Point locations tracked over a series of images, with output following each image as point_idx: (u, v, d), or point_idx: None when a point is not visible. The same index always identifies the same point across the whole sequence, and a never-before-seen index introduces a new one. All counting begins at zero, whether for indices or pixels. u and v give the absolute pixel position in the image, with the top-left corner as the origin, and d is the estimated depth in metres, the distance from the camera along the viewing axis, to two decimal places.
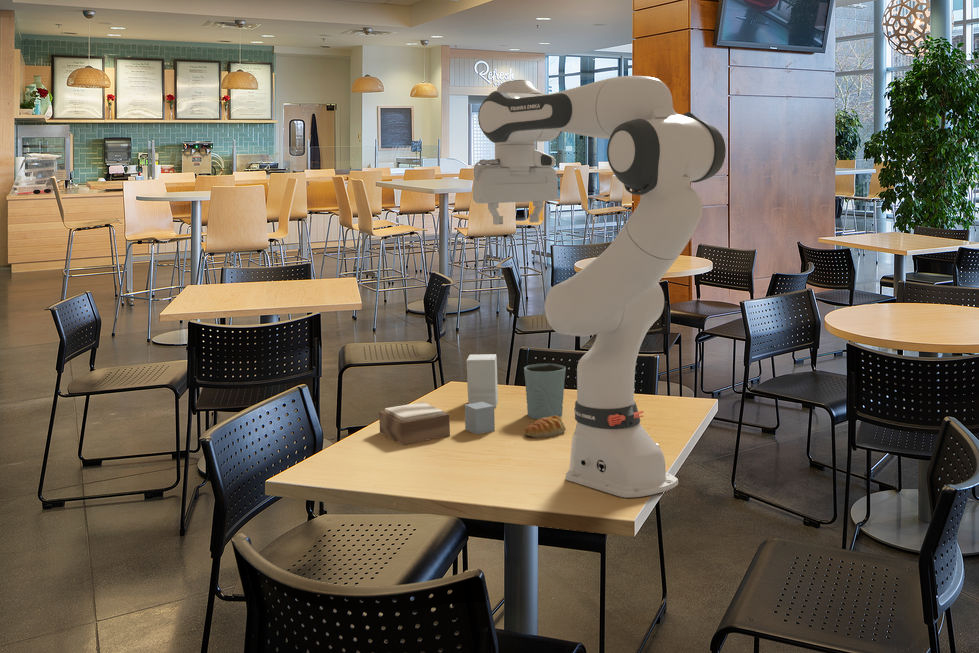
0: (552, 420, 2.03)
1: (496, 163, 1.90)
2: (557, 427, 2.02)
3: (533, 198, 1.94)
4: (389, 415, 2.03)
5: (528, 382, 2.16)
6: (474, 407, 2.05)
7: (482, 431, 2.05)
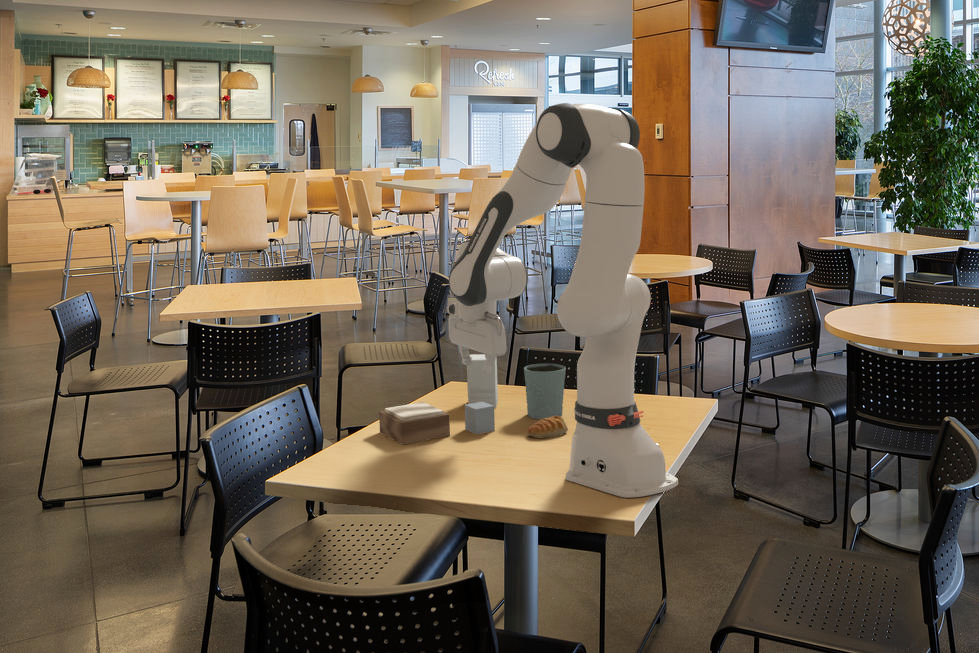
0: (554, 420, 2.03)
1: None
2: (559, 427, 2.02)
3: None
4: (389, 415, 2.03)
5: (528, 382, 2.16)
6: (474, 407, 2.05)
7: (482, 431, 2.05)
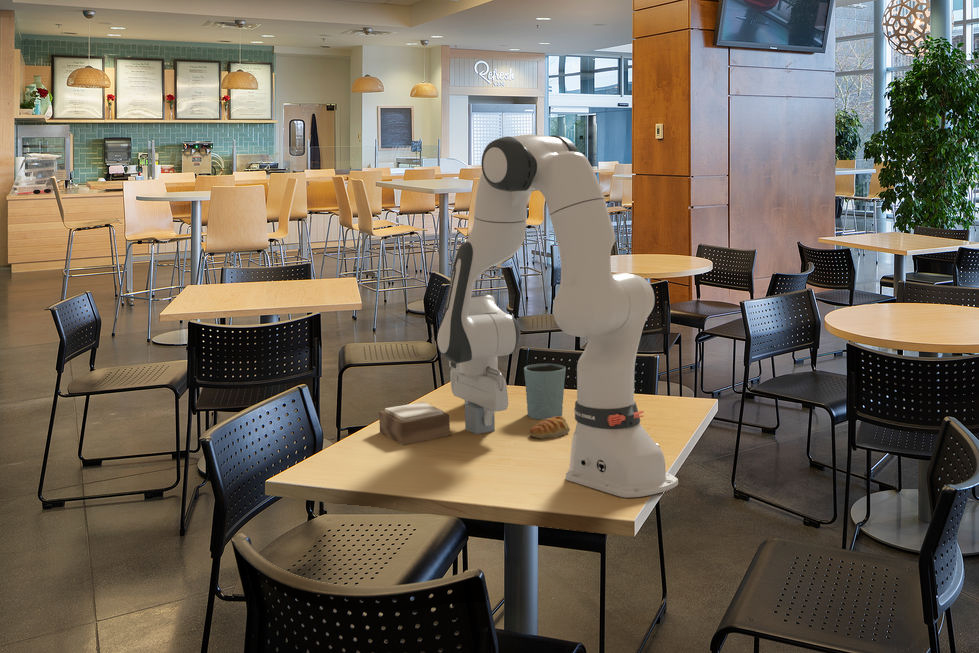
0: (556, 421, 2.03)
1: None
2: (561, 427, 2.02)
3: None
4: (389, 415, 2.03)
5: (528, 382, 2.16)
6: (474, 407, 2.05)
7: (482, 431, 2.05)
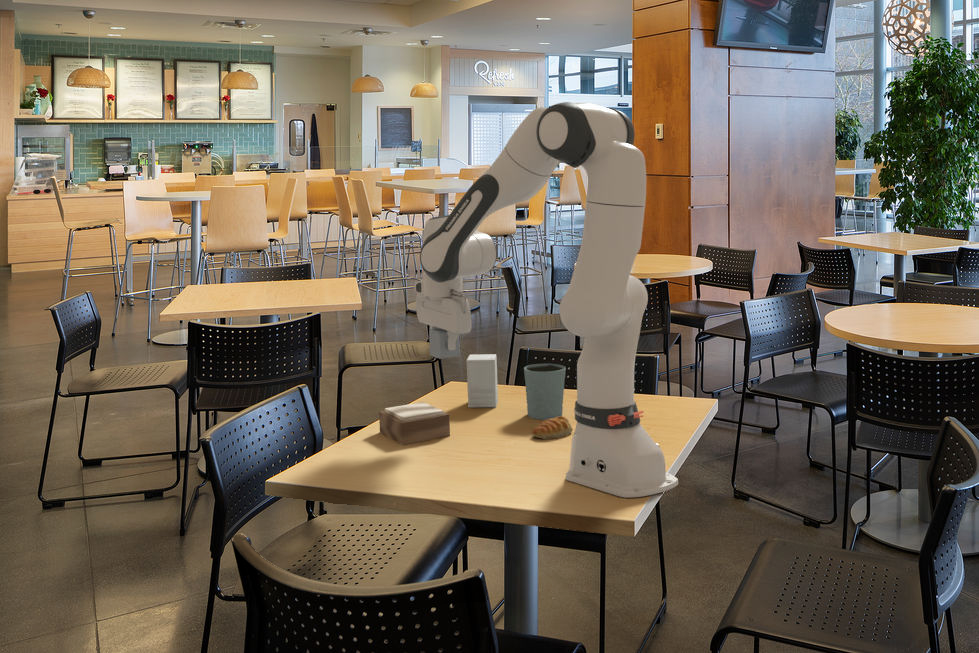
0: (559, 421, 2.02)
1: None
2: (564, 427, 2.02)
3: None
4: (389, 415, 2.03)
5: (528, 382, 2.16)
6: (438, 331, 2.02)
7: (446, 356, 2.02)
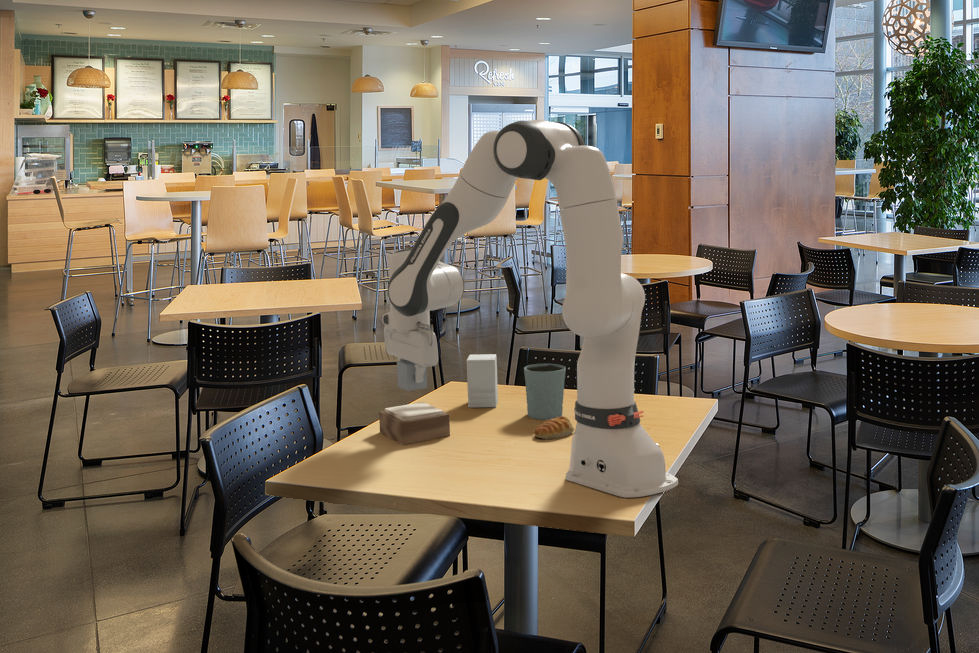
0: (561, 421, 2.02)
1: None
2: (566, 427, 2.01)
3: None
4: (389, 415, 2.03)
5: (528, 382, 2.16)
6: (406, 363, 2.01)
7: (414, 388, 2.01)
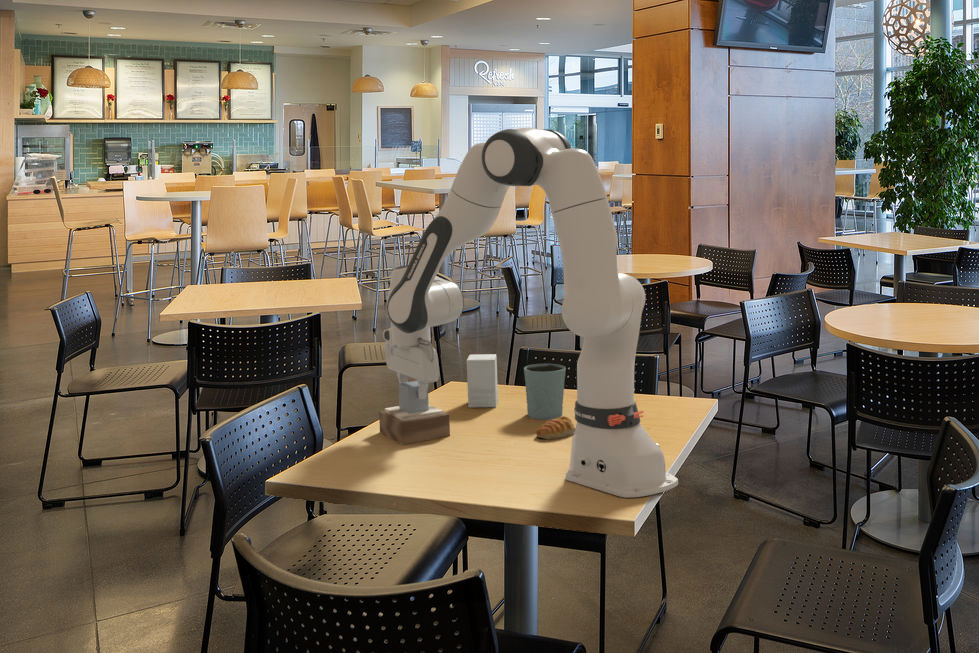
0: (562, 421, 2.02)
1: None
2: (568, 428, 2.01)
3: None
4: (389, 415, 2.03)
5: (528, 382, 2.16)
6: (407, 386, 2.02)
7: (415, 410, 2.02)
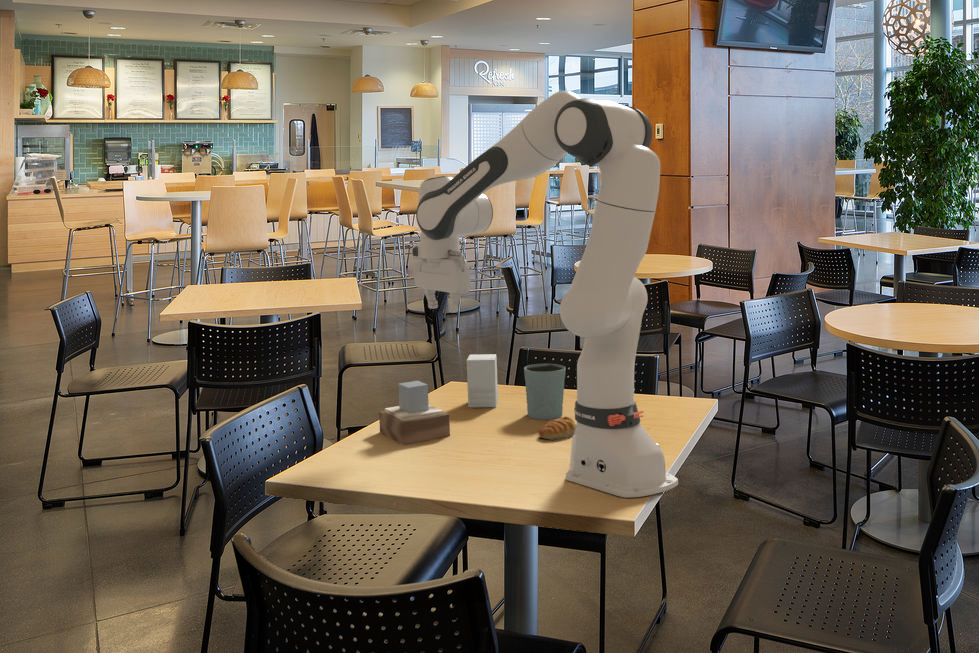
0: (565, 421, 2.02)
1: None
2: (570, 428, 2.01)
3: None
4: (389, 415, 2.03)
5: (528, 382, 2.16)
6: (407, 386, 2.02)
7: (415, 410, 2.02)
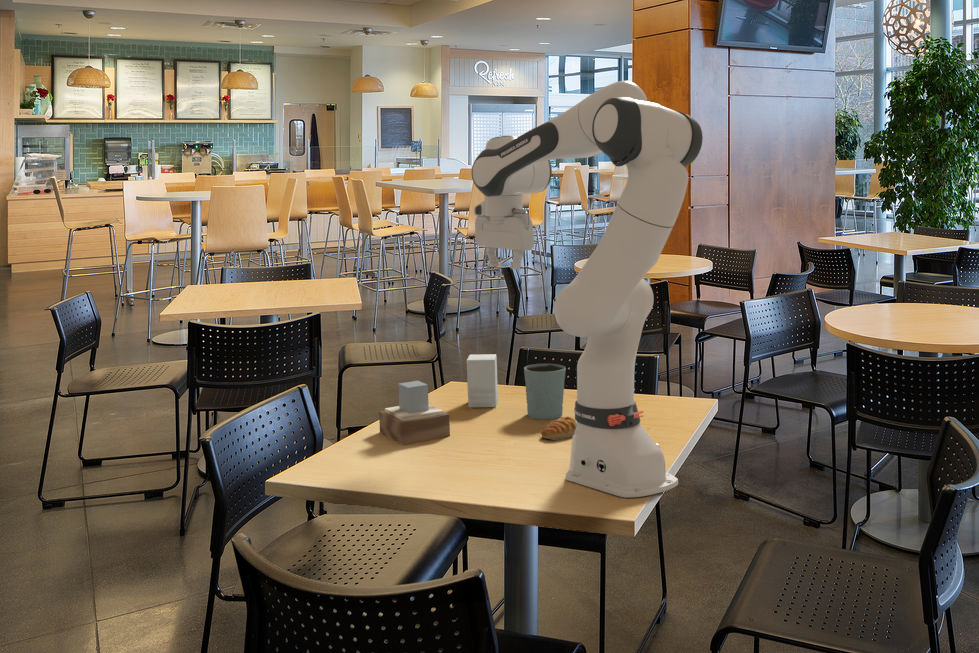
0: (567, 421, 2.02)
1: None
2: (572, 428, 2.01)
3: None
4: (389, 415, 2.03)
5: (528, 382, 2.16)
6: (407, 386, 2.02)
7: (415, 410, 2.02)
